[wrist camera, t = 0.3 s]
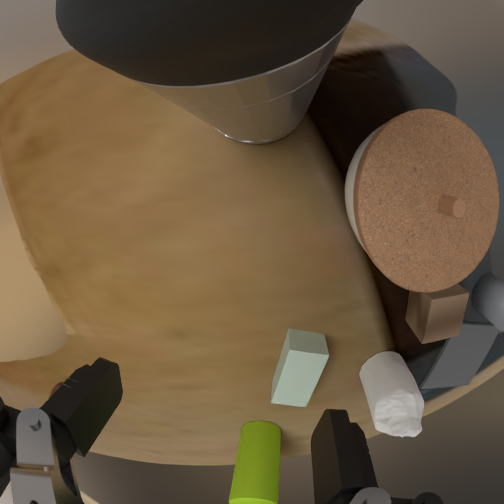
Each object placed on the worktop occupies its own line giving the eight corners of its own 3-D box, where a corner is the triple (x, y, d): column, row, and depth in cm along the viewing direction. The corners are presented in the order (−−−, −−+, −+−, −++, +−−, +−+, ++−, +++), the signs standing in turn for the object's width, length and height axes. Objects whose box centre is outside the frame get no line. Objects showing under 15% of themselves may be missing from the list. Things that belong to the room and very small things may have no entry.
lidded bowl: (393, 101, 20) (455, 68, 10) (460, 201, 22) (531, 223, 11) (300, 183, 23) (319, 192, 13) (380, 279, 25) (428, 340, 15)
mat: (455, 321, 26) (457, 323, 25) (499, 324, 25) (501, 326, 25) (419, 386, 29) (421, 388, 28) (466, 382, 29) (468, 384, 28)
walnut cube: (410, 279, 25) (431, 299, 20) (446, 274, 24) (469, 292, 20) (404, 319, 26) (422, 344, 22) (439, 313, 26) (458, 335, 21)
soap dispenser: (254, 446, 35) (240, 551, 16) (234, 424, 34) (210, 543, 15) (289, 439, 34) (284, 551, 15) (271, 417, 32) (260, 546, 13)
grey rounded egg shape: (480, 270, 24) (508, 289, 18) (500, 275, 23) (527, 294, 18) (466, 307, 25) (491, 331, 19) (487, 310, 25) (511, 331, 19)
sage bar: (288, 327, 28) (289, 349, 24) (324, 332, 28) (329, 355, 24) (272, 379, 30) (271, 402, 27) (303, 383, 30) (305, 407, 26)
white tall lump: (379, 461, 18) (382, 436, 17) (359, 387, 30) (357, 357, 28) (432, 442, 17) (443, 414, 16) (401, 374, 29) (403, 343, 27)
